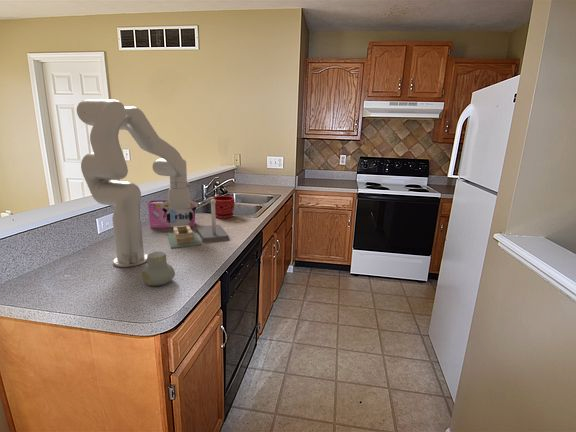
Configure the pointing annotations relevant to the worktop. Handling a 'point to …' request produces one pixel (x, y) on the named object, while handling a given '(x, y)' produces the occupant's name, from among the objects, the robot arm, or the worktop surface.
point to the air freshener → (157, 270)
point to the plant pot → (224, 206)
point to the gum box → (176, 216)
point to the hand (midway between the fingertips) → (180, 221)
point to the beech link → (183, 234)
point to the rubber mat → (175, 245)
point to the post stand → (212, 229)
